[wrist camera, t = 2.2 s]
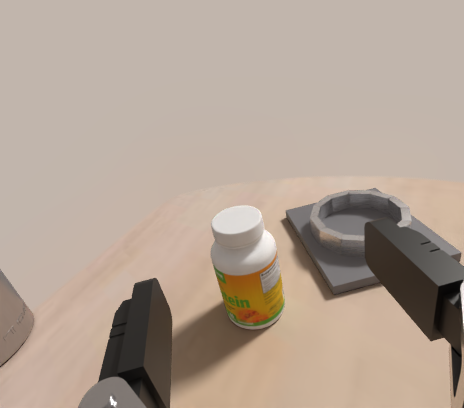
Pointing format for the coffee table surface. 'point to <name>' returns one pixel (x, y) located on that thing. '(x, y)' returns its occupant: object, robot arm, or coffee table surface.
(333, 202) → the stone collar
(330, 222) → the base plate
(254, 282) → the supplement bottle
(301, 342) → the coffee table surface
